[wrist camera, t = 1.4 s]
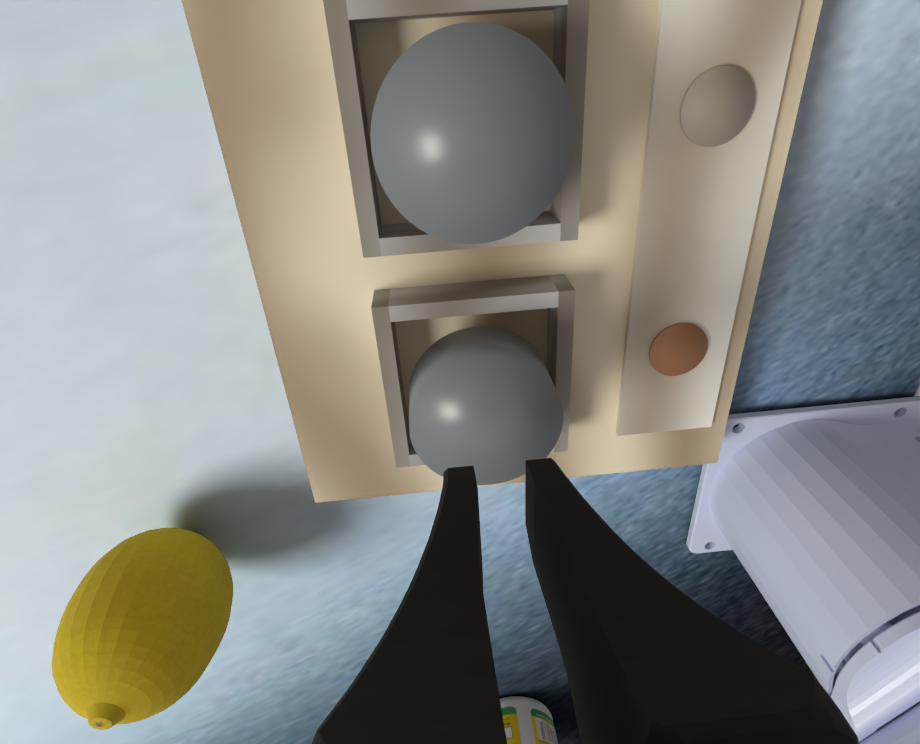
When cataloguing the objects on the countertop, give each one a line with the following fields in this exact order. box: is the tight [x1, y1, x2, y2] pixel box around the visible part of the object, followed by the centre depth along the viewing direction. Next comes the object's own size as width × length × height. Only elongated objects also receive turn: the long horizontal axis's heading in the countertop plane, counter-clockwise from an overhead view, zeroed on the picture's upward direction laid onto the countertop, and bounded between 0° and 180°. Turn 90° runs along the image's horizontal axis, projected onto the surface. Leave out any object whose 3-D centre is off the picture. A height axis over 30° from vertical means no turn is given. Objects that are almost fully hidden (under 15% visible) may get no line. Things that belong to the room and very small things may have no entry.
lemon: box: [52, 528, 233, 729], centre depth 21 cm, size 6×6×8 cm
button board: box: [182, 0, 823, 503], centre depth 15 cm, size 16×26×3 cm, turn 4°
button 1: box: [409, 326, 563, 485], centre depth 16 cm, size 4×4×2 cm
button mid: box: [370, 22, 575, 244], centre depth 13 cm, size 4×4×2 cm
